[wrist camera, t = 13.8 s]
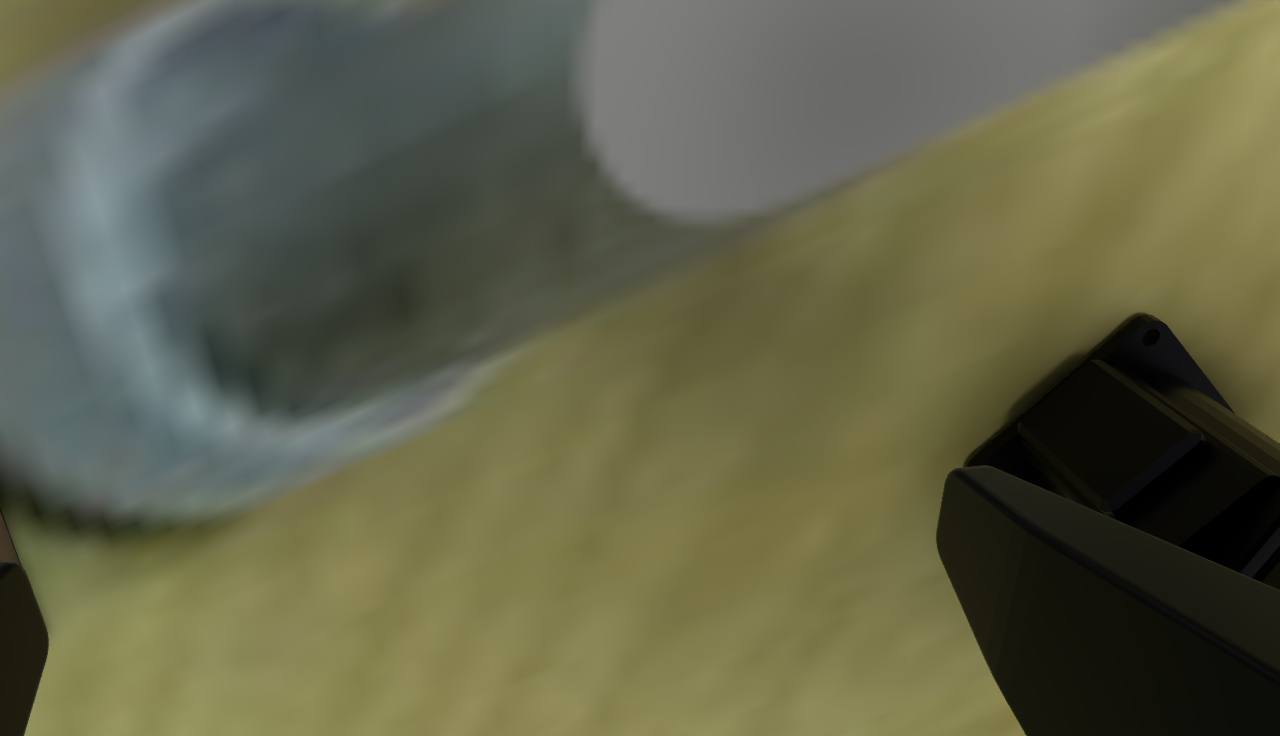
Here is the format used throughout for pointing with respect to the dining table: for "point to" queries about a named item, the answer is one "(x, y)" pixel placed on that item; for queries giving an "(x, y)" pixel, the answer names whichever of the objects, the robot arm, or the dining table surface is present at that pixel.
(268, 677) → the dining table surface
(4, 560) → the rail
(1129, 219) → the dining table surface
